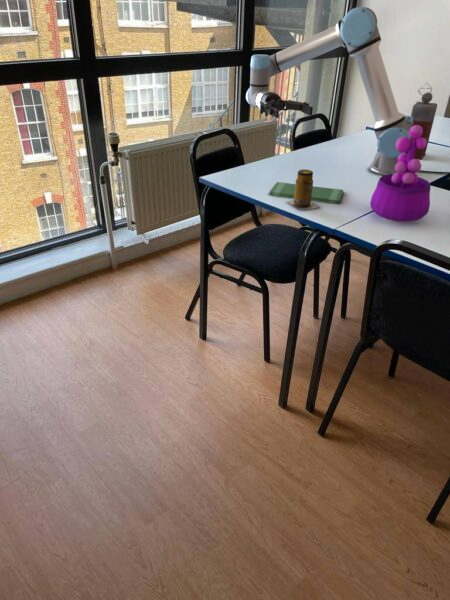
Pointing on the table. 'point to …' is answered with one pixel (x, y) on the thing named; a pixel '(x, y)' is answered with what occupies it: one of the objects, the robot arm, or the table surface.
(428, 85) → the dna model
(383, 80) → the robot arm
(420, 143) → the decorative plant
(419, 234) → the table surface
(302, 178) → the condiment
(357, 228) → the table surface
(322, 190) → the towel
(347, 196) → the table surface
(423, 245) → the table surface
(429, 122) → the glass decanter
